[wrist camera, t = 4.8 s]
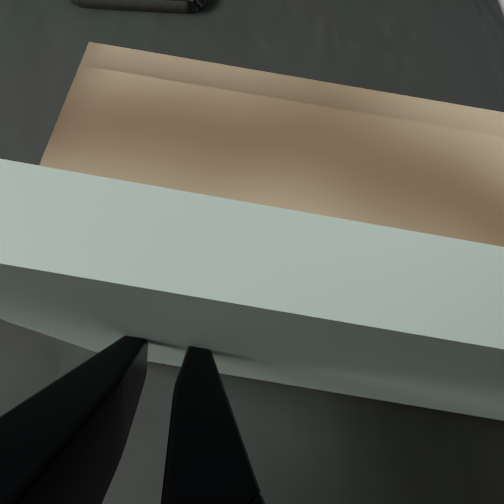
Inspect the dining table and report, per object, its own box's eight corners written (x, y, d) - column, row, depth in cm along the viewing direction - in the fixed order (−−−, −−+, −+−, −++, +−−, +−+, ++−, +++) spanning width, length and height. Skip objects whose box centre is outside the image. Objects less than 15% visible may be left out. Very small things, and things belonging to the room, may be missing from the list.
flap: (523, 424, 15) (1492, 517, 4) (99, 353, 14) (-320, 208, 3) (520, 396, 15) (1388, 401, 4) (107, 327, 15) (-246, 116, 4)
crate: (502, 387, 15) (766, 379, 8) (110, 326, 15) (1, 258, 8) (490, 250, 18) (689, 143, 10) (146, 194, 17) (88, 41, 10)
